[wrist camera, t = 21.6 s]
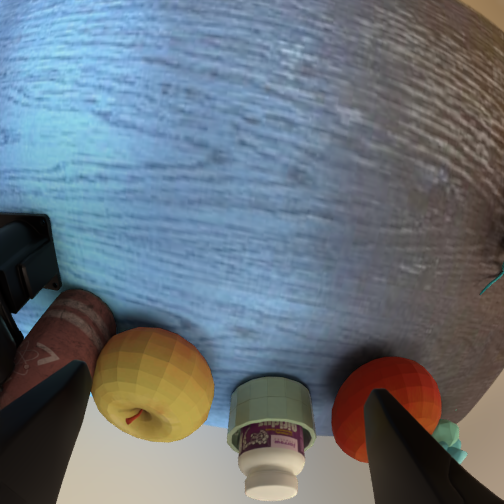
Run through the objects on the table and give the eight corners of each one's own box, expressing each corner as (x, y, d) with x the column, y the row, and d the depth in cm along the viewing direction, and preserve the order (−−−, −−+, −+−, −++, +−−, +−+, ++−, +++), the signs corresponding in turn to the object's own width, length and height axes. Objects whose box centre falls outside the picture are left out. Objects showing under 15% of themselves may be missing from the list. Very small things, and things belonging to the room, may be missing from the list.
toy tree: (378, 357, 35) (455, 417, 30) (331, 414, 33) (413, 471, 29) (409, 358, 24) (500, 432, 20) (346, 438, 23) (446, 502, 19)
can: (52, 321, 25) (-22, 436, 12) (66, 272, 22) (-34, 399, 10) (106, 354, 26) (51, 483, 13) (128, 311, 24) (59, 462, 11)
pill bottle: (297, 381, 26) (306, 479, 17) (301, 414, 28) (309, 500, 19) (236, 388, 26) (228, 484, 18) (247, 420, 29) (243, 505, 20)
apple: (104, 297, 23) (58, 366, 16) (224, 318, 24) (210, 402, 16) (117, 377, 27) (90, 442, 20) (214, 397, 28) (204, 469, 21)
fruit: (329, 344, 24) (352, 450, 15) (432, 331, 24) (481, 418, 15) (319, 412, 28) (331, 499, 19) (406, 399, 28) (433, 477, 19)
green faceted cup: (230, 416, 29) (226, 457, 25) (232, 369, 26) (228, 415, 21) (302, 420, 29) (305, 460, 25) (317, 373, 26) (325, 419, 21)
